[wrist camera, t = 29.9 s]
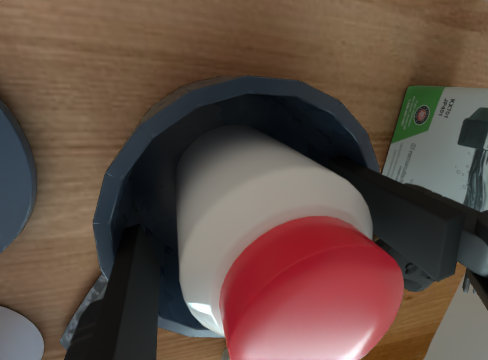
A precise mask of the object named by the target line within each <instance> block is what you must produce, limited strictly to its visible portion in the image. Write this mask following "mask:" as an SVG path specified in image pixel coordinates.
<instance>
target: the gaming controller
mask: <svg viewBox="0 0 488 360" xmlns="http://www.w3.org/2000/svg"><path fill="white" fill-rule="evenodd" d="M375 243H376V244H377V245H378V246H379V247H381V248H382V249H383V250H384V251H386V252H387V253H388V254H389V255H390V256H392V257H393V258H394V259H395V261H396V262H397V264H398V266H399V267H400V269H401V271H402V275H403V280H404V288H406V289H407V290H408V291H412V292H418V291H422V290H424V289H426V288H427V287H429V286H430V285H431V284H432V283H433V282H434V281H436V280H434V279H433V278H432V277H430V276H429V275H428V274H426V273H425V272H424V271H423V270H421V269H420V268H419V267H417V266H416V265H415V264H413V263H412V262H411V261H409V260H408V259H407V258H405V257H404V256H403V255H401V254H400V253H399V252H397V251H396V250H395V249H394V248H392V247H391V246H390V245H388V244H387V243H386V242H384V241H383V240H382V239H379V240H377V241H376V242H375Z"/></svg>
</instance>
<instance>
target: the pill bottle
mask: <svg viewBox="0 0 488 360" xmlns="http://www.w3.org/2000/svg"><path fill="white" fill-rule="evenodd" d="M174 191H175V210H176V229H177V249H178V268H179V282H180V286H181V291H182V295H183V299H184V301H185V303H186V304H187V306H188V308H189V310H190V312H191V314H192V315H193V316H194V317H195V318H196V319H197V320H198V321H199V322H200V323H201V324H202V325H203V326H205V327H206V328H208V329H209V330H211V331H213V332H214V333H216V334H218V335H221V336H224V337H225V339H226V344H227V349H228V354H229V358H230V360H360V359H361V358H362V357H363V356H365V355H366V354H367V353H368V352H369V351H370V350H371V349H372V348H373V347H374V346H375V345H376V344H377V343H378V342H379V341H380V339H381V338H382V337H383V336H384V335H385V333H386V332H387V331H388V329H389V327H390V326H391V324H392V323H393V321H394V319H395V317H396V315H397V313H398V310H399V308H400V305H401V302H402V298H403V294H404V280H403V275H402V271H401V269H400V267H399V266H398V264H397V262H396V261H395V259H394V258H393V257H392V256H390V255H389V254H388V253H387V252H386V251H384V250H383V249H382V248H381V247H379V246H378V245H377V244H376V243H374V242H373V223H372V218H371V214H370V210H369V207H368V205H367V203H366V202H365V200H364V198H363V197H362V195H361V193H360V192H359V191H358V190H357V189H356V188H355V187H354V186H353V185H352V184H351V183H350V182H349V181H348V180H346V179H345V178H343V177H341V176H340V175H338V174H336V173H334V172H333V171H331V170H329V169H327V168H326V167H324V166H322V165H320V164H319V163H317V162H315V161H313V160H312V159H310V158H308V157H306V156H305V155H303V154H301V153H299V152H298V151H296V150H294V149H292V148H291V147H289V146H287V145H285V144H284V143H282V142H280V141H278V140H277V139H275V138H273V137H271V136H270V135H268V134H266V133H264V132H262V131H261V130H259V129H257V128H253V127H250V126H247V125H236V124H234V125H225V126H221V127H218V128H214V129H211V130H209V131H208V132H206V133H204V134H202V135H201V136H199V137H198V138H197V139H196V140H195V141H193V142H192V143H191V144H190V145H189V147H188V148H187V149H186V150H185V152H184V153H183V155H182V157H181V159H180V161H179V163H178V165H177V169H176V173H175V183H174Z"/></svg>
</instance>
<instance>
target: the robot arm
mask: <svg viewBox="0 0 488 360" xmlns="http://www.w3.org/2000/svg"><path fill="white" fill-rule="evenodd" d="M328 169H329V170H331V171H333V172H334V173H336V174H338V175H340V176H341V177H343V178H345V179H346V180H348V181H349V182H350V183H351V184H352V185H353V186H354V187H355V188H356V189H357V190H358V191H359V192H360V193H361V195H362V197H363V198H364V200H365V202H366V203H367V205H368V207H369V210H370V214H371V218H372V223H373V233H374V234H375V235H376V236H378V237H379V238H380V239H382V240H383V241H384V242H386V243H387V244H388V245H390V246H391V247H392V248H394V249H395V250H396V251H397V252H399V253H400V254H401V255H403V256H404V257H405V258H407V259H408V260H409V261H411V262H412V263H413V264H415V265H416V266H417V267H419V268H420V269H421V270H423V271H424V272H425V273H426V274H428V275H429V276H430V277H432V278H433V279H434V280H436V281H437V282H438V281H440V280H443V279H445V278H447V277H449V276H451V275H453V274H455V269H456V264H457V262H459V263H461V264H462V265H464V266H465V267H467V268H466V273H465V278H464V283H463V291H464V293H468V289H469V285H470V284H472V286H473V288H474V289H473V293H477V294H478V296H479V297H480V299H481V300H482V302H483V304H484V305H485V307H486V308H487V310H488V210H485V211H483V212H480V211H478V210H475V209H473V208H471V207H468V206H466V205H464V204H461V203H459V202H457V201H454V200H452V199H450V198H447V197H445V196H443V197H442V195H440V194H438V193H436V192H432V191H431V190H429V189H426V188H424V187H422V186H419V185H414V184H409V183H404V184H402V183H400V182H398V181H396V180H393V179H391V178H389V177H387V176H385V175H382V174H380V173H378V172H376V171H374V170H371V169H369V168H367V167H365V166H363V165H360V164H358V163H356V162H354V161H351V160H349V159H347V158H345V157H343V156H340V155H339V156H336V157H333V158H330V159H328ZM160 266H161V264H160V262H159V260H158V258H157V256H156V254H155V252H154V250H153V248H152V246H151V244H150V242H149V240H148V238H147V236H146V234H145V232H144V230H143V228H142V226H141V224H140V223H139V224H136V225H133V226H130V227H127V228H124V231H123V234H122V237H121V241H120V244H119V247H118V250H117V254H116V257H115V260H114V264H113V267H112V270H111V274H110V277H109V280H108V284H107V287H106V290H105V294H104V297H103V298H102V299H99V300H97V301H94V302H91V303H90V304H89V305H88V306H87V308H86V309H85V311H84V312H83V313H82V315H81V316H80V318H79V321H78V323H77V326H76V329H75V334H73V337H72V339H71V342H70V346H69V347H68V350H67V353H66V355H65V358H64V360H156V350H157V329H158V308H159V287H160Z"/></svg>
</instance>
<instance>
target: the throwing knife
mask: <svg viewBox="0 0 488 360" xmlns="http://www.w3.org/2000/svg"><path fill="white" fill-rule="evenodd" d="M107 284H108V280H107V279H106V277H105V276H104V274H103V273H102V274H101V276H100V277H99V278H98V280H97V281H96V283H95V284H94V286H93V287H92V289H91V290H90V291H89V293H88V294H87V296H86V297H85V299H84V301H83V302H82V304H81V305H80V307H79V308H78V310H77V312H76V313H75V315H74V316H73V318H72V320H71V321H70V323H69V324H68V326H67V328H66V330H65V332H64V334H63V336H62V338H61V340H60V341H59V342H60V343H61V344H62V345H63V347H64V348H65V349H66V350H68V347H69V346H70V342H71V339H72V337H73V334H75V329H76V326H77V323H78V321H79V318H80V316H81V315H82V313H83V312H84V311H85V309H86V308H87V306H88V305H89V304H90V303H91V302H94V301H97V300H99V299H102V298H103V297H104V294H105V290H106V287H107Z"/></svg>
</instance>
